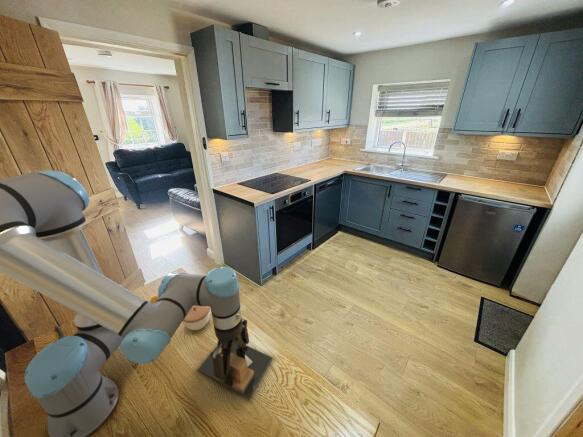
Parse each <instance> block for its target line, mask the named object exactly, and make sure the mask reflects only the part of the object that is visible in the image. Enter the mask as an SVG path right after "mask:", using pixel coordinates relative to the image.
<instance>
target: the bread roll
mask: <svg viewBox="0 0 583 437" xmlns="http://www.w3.org/2000/svg"><path fill="white" fill-rule="evenodd" d="M158 299H159V296H158V294H156V295H154V296H152V297H151V298H150V301H149V302H150V303H152V304H154V303H155V302H156V301H157V300H158Z"/></svg>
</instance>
